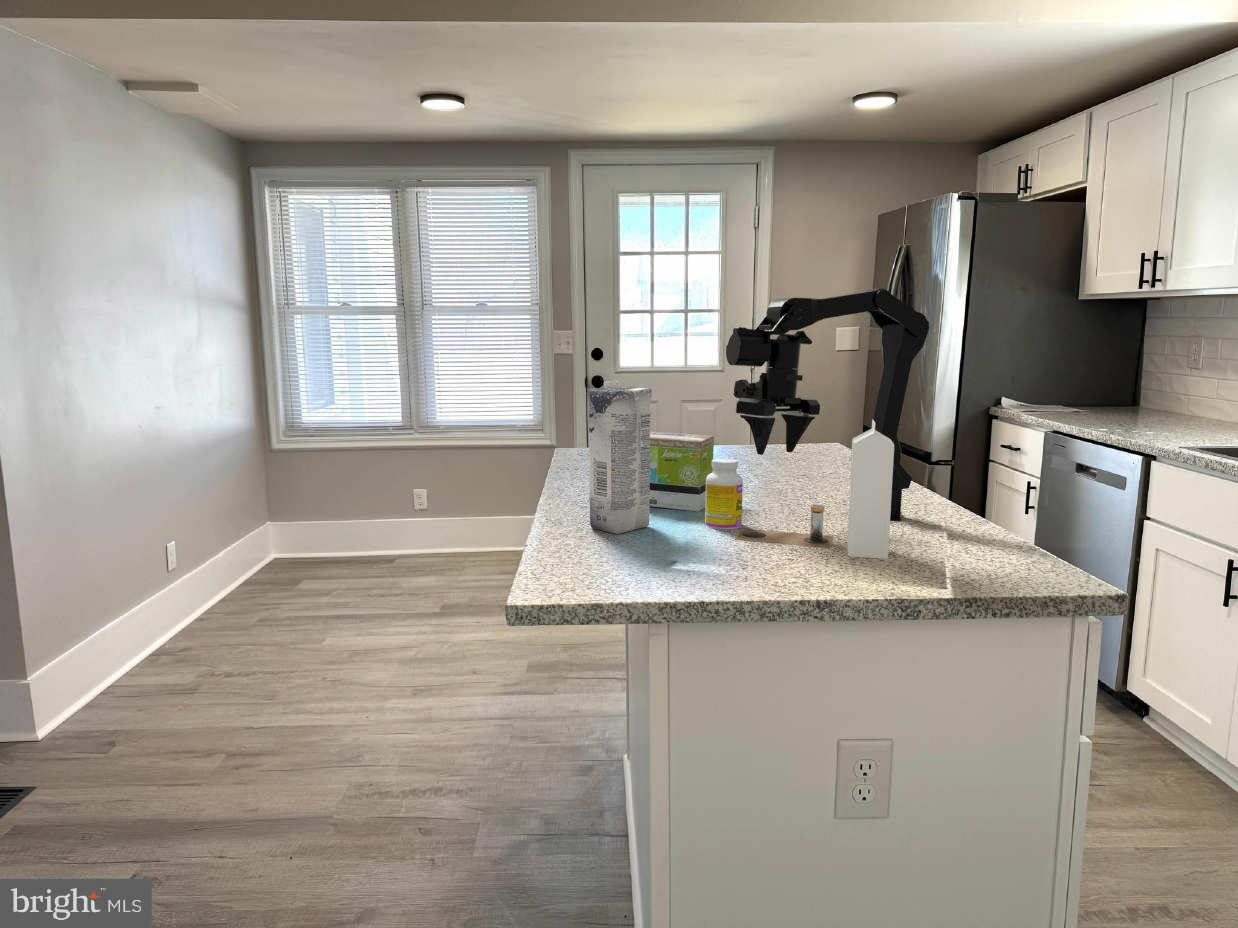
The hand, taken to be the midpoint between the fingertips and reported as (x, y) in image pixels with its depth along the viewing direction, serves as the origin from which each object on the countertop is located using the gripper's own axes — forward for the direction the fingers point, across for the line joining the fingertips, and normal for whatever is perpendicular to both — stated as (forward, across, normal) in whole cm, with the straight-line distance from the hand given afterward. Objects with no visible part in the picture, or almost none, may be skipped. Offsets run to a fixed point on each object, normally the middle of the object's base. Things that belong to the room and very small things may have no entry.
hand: (775, 453), depth 148 cm
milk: (+14, +7, +24) cm, 28 cm away
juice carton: (+15, +21, -18) cm, 32 cm away
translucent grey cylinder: (+12, +7, +14) cm, 20 cm away
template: (+14, +9, +10) cm, 19 cm away
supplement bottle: (+14, +9, -4) cm, 17 cm away
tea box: (+14, -1, -25) cm, 29 cm away
